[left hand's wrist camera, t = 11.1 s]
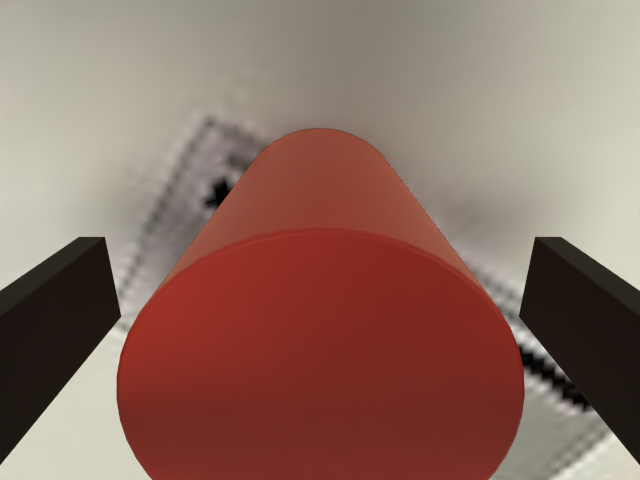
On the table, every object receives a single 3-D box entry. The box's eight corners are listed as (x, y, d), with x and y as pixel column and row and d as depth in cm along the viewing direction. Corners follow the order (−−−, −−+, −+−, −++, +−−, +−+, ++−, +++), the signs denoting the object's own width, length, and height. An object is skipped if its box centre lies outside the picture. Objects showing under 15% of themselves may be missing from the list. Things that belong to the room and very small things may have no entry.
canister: (416, 263, 20) (543, 514, 9) (268, 300, 20) (206, 577, 9) (382, 106, 17) (501, 171, 6) (213, 155, 18) (33, 296, 7)
